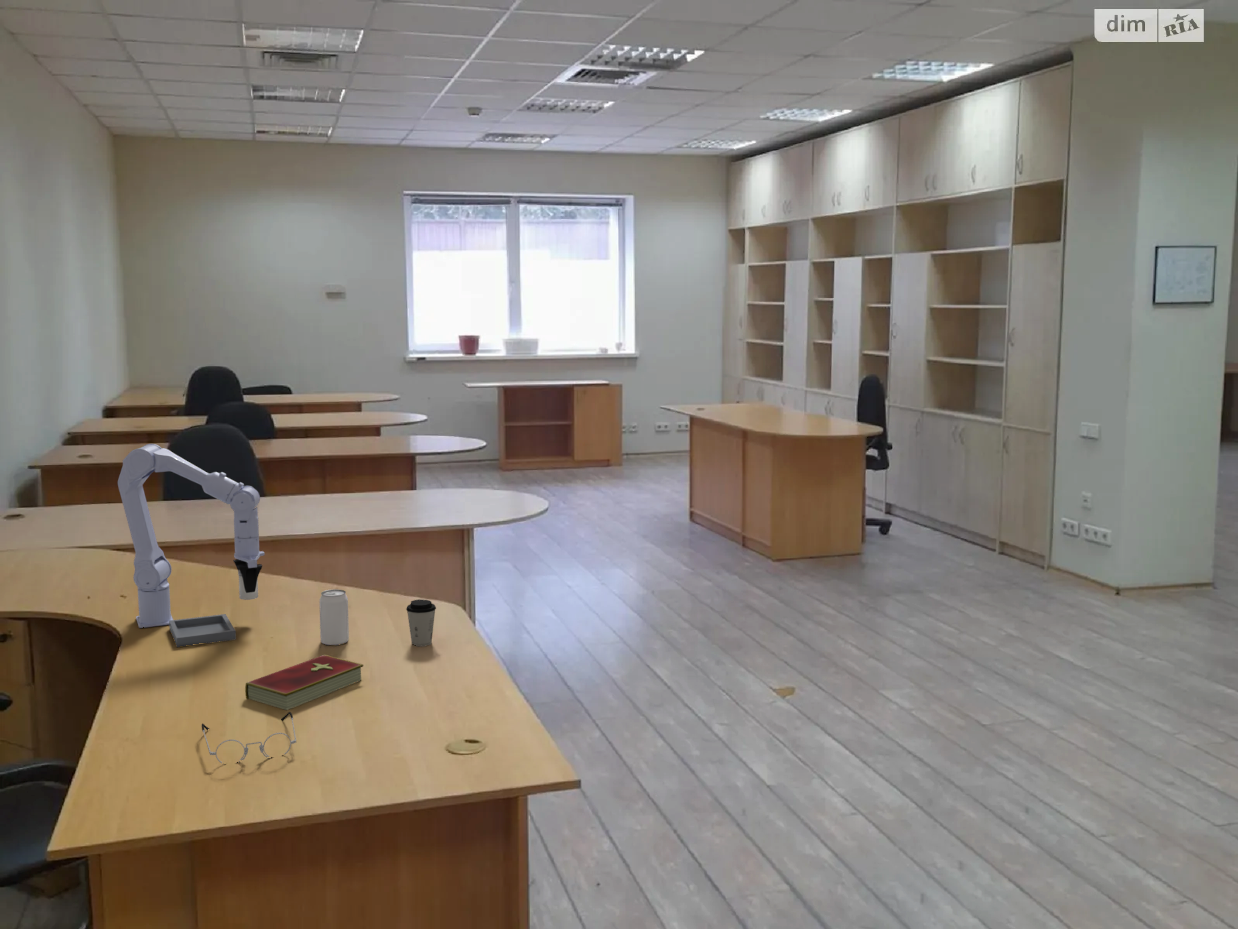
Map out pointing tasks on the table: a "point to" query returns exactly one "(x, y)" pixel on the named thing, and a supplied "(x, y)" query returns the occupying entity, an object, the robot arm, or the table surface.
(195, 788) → the table surface
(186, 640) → the tray
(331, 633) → the can
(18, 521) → the table surface
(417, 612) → the coffee cup
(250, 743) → the eyeglasses
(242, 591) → the shaker
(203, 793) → the table surface
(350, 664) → the hardcover book
